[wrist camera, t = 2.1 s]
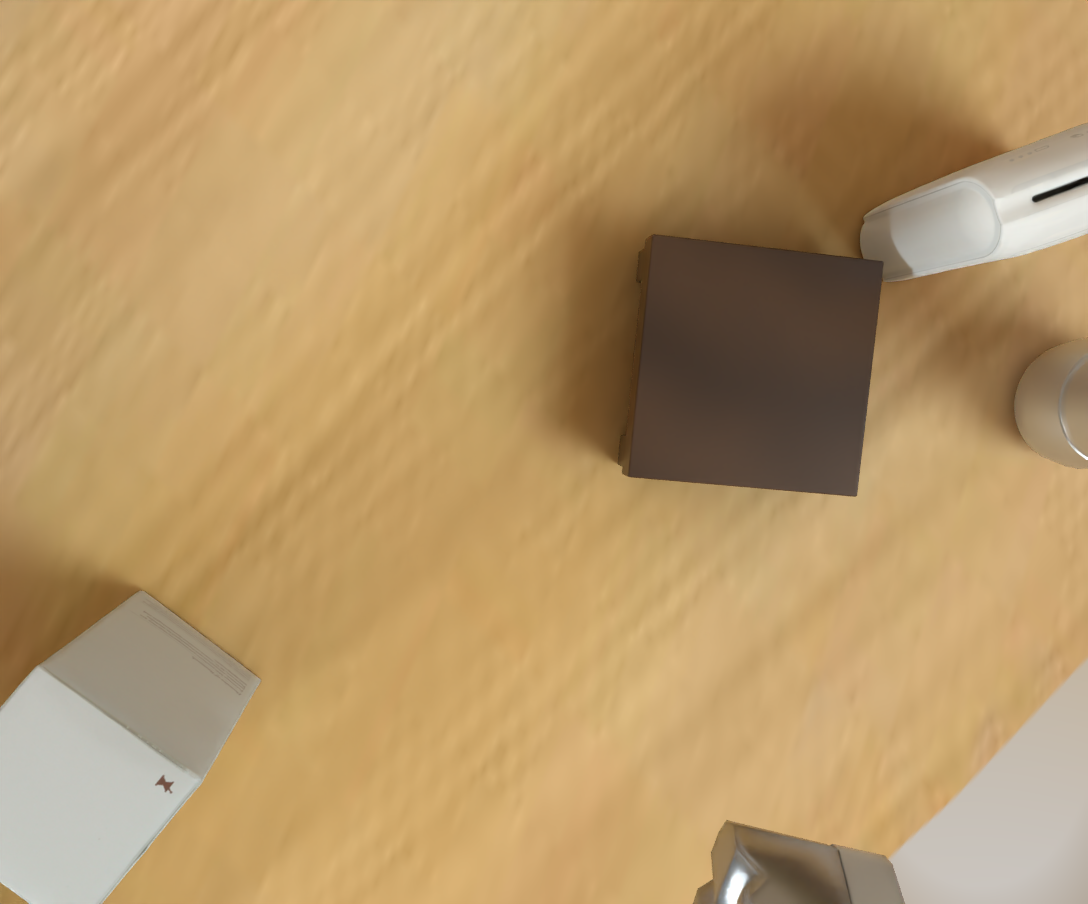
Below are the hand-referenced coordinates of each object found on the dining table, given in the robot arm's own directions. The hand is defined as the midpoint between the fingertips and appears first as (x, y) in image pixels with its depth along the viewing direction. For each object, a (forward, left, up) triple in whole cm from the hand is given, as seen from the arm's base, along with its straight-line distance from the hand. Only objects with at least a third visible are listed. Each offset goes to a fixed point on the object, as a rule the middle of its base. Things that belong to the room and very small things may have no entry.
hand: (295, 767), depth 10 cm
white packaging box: (+12, -11, -40) cm, 43 cm away
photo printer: (-14, +26, -40) cm, 50 cm away
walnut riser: (-6, +16, -39) cm, 43 cm away
